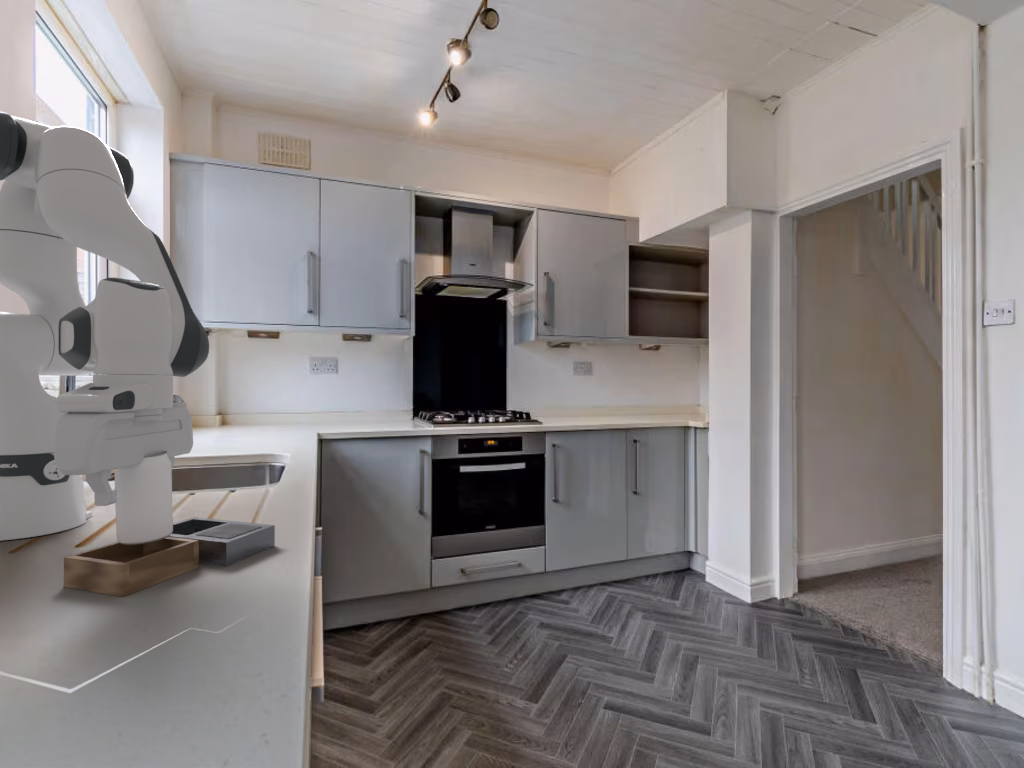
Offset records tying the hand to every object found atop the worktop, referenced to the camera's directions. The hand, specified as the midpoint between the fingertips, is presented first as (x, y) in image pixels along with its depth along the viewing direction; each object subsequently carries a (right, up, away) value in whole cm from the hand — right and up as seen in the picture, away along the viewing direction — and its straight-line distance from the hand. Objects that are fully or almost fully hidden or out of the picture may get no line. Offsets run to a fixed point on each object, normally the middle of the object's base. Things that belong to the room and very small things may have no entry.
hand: (134, 496), depth 69 cm
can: (0, -7, +2) cm, 7 cm away
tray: (+4, -11, +11) cm, 16 cm away
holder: (0, -11, 0) cm, 11 cm away
